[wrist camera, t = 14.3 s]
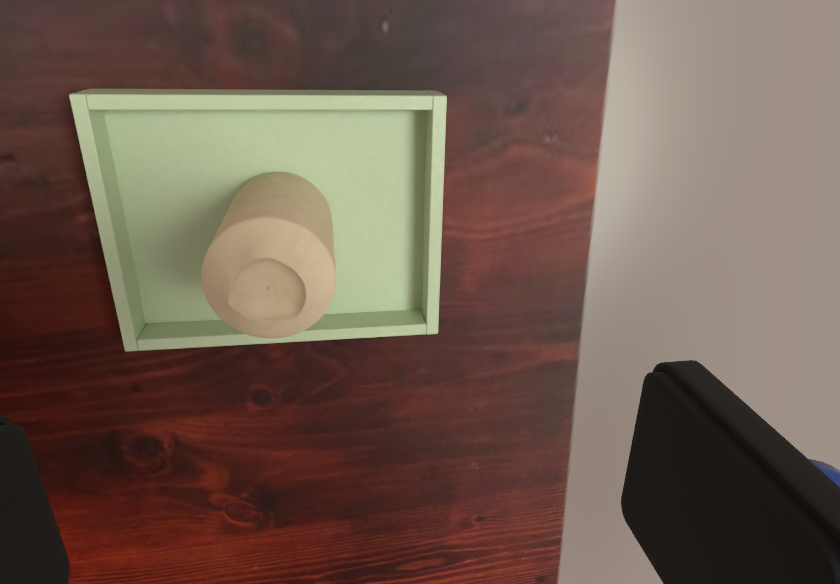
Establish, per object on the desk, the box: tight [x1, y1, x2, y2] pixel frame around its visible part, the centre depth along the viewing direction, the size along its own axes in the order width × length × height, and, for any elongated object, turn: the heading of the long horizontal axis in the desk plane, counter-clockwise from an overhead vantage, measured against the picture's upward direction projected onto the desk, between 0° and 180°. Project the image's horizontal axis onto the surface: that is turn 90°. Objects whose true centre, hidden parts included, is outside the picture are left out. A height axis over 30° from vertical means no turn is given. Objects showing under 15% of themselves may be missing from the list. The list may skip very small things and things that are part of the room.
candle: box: [201, 172, 336, 338], centre depth 28 cm, size 6×6×10 cm
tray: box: [69, 89, 447, 351], centre depth 31 cm, size 17×13×3 cm
